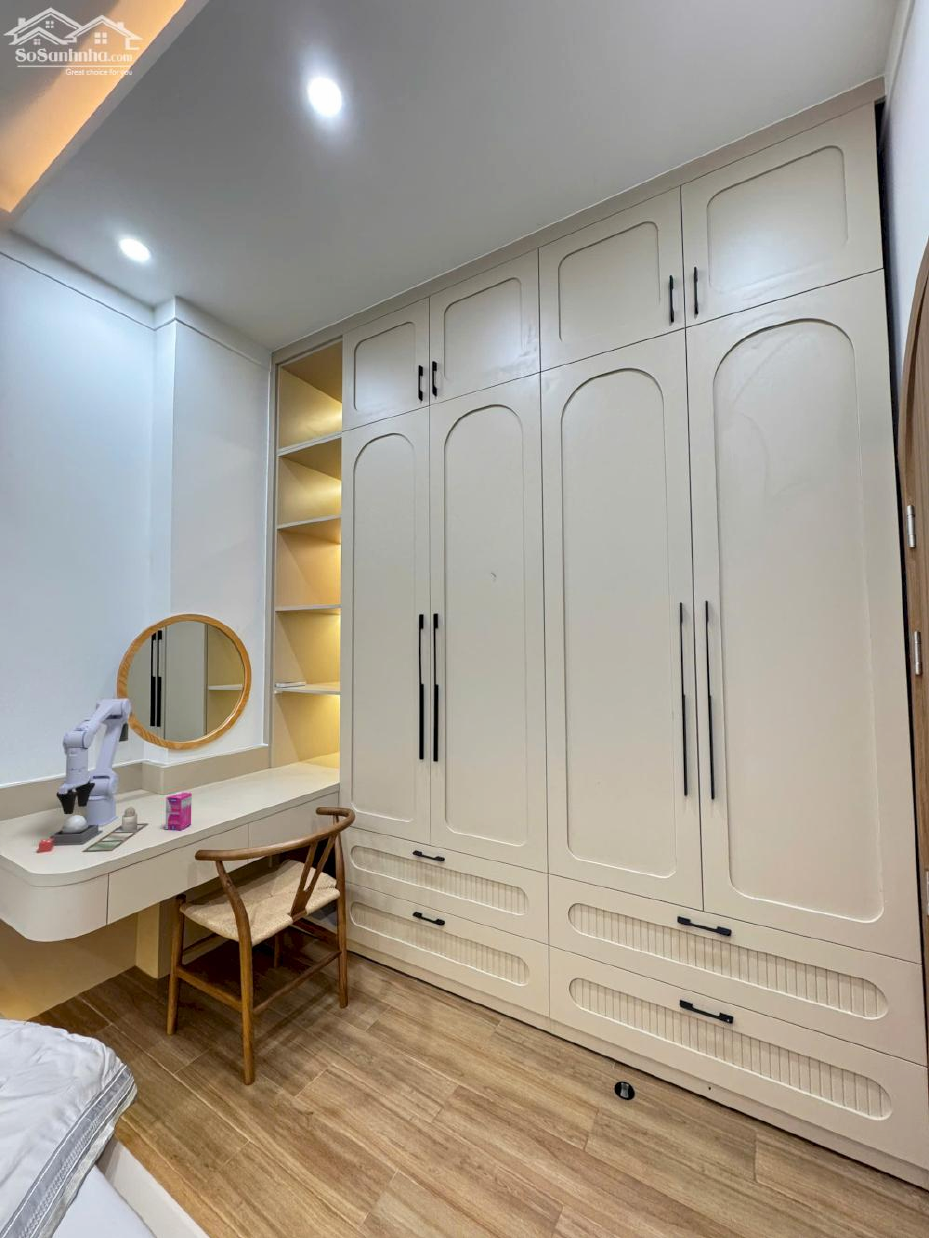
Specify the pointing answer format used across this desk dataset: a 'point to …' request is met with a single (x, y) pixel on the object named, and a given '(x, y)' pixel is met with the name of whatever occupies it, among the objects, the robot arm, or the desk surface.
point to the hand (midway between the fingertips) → (75, 810)
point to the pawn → (129, 820)
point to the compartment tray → (113, 839)
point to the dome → (75, 825)
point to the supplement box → (178, 811)
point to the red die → (46, 845)
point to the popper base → (75, 837)
